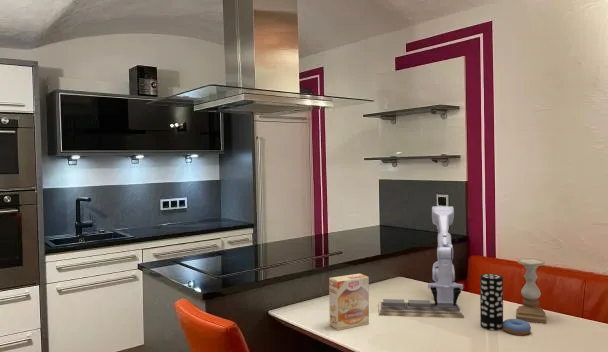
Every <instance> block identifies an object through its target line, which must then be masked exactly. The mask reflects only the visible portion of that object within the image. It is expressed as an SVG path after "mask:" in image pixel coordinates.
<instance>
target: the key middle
mask: <svg viewBox="0 0 608 352" xmlns="http://www.w3.org/2000/svg"><path fill="white" fill-rule="evenodd" d="M430 303H431V301H430V300H428V299H408V304H409V307H431V304H430Z"/></svg>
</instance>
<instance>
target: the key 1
mask: <svg viewBox="0 0 608 352" xmlns="http://www.w3.org/2000/svg"><path fill="white" fill-rule="evenodd" d="M382 299H383V300H382V302H383V306H405V303H404V302H405V299H396V298H395V299H394V298H393V299H392V298H390V299H389V298H382Z"/></svg>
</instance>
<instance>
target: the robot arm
mask: <svg viewBox="0 0 608 352" xmlns="http://www.w3.org/2000/svg"><path fill="white" fill-rule="evenodd" d="M454 217H455V210H454V206H451V205H450V206H441V205H440V206H434V205H433V206H432V207H431V219H432V221H431V222H432V224H433V225H435V226H436V229H437V248H436V257H437V261H435V262H433V265H432V272H431V273H432V275H431V276H432V280H433V281H434V282H429V283H427V289H428V290H430V292H431V294H432V296H433V300H434V303H435V305H437V303H453V305H454V306H456V304H458V298H459V296H460V294H461V292H462V290H464V284H462V283H457V282H455V280H456V279H455V278H456V275H455V274H456V272H455V265H454V264H453V259H454V248H453V244H452V235H451V233H449V227H450V226H452V225H453V224H454V223H453V222H454Z"/></svg>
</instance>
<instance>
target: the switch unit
mask: <svg viewBox="0 0 608 352" xmlns="http://www.w3.org/2000/svg"><path fill="white" fill-rule="evenodd" d="M404 303H405V306H383V301H378V316H383V315H384V316H387V317H390V316H391V317H394V316H395V317H416V318H417V317H419V318H420V317H421V318H422V317H423V318H424V317H425V318H447V319H448V318H450V319H451V318H452V319H465V314H464V312H463V311H462V309H461V308H460V306H459V304H458V303H456V306H457V308H435V307H434V303H435V302H430V304H431V307H409V304H408V302H406V301H404Z"/></svg>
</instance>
